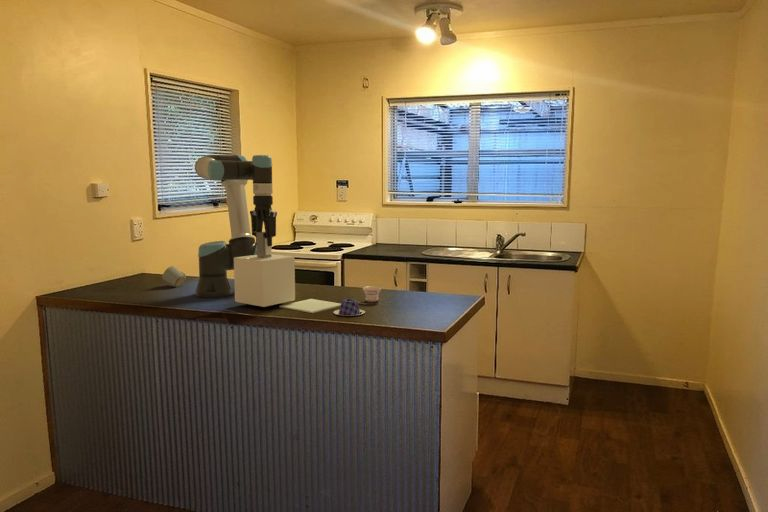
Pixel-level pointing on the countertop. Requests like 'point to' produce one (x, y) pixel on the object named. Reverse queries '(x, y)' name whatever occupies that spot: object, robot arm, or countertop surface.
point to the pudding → (349, 308)
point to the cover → (264, 277)
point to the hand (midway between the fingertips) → (264, 253)
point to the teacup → (371, 293)
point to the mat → (311, 305)
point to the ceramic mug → (174, 276)
